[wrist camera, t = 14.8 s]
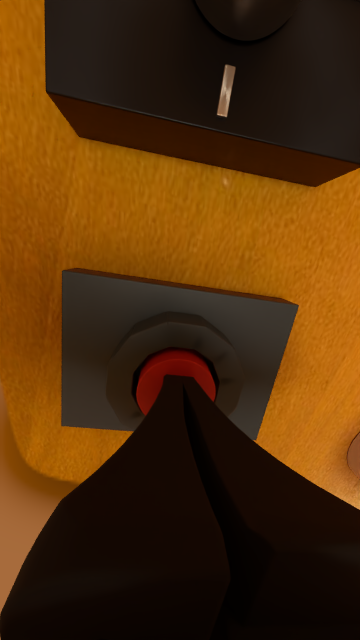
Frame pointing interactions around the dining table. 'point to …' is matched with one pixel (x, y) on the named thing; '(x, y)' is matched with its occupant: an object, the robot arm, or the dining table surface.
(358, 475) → the cup
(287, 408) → the dining table surface
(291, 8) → the dimmer knob
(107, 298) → the switch block
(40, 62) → the dining table surface
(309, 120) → the dimmer panel
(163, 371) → the switch button
